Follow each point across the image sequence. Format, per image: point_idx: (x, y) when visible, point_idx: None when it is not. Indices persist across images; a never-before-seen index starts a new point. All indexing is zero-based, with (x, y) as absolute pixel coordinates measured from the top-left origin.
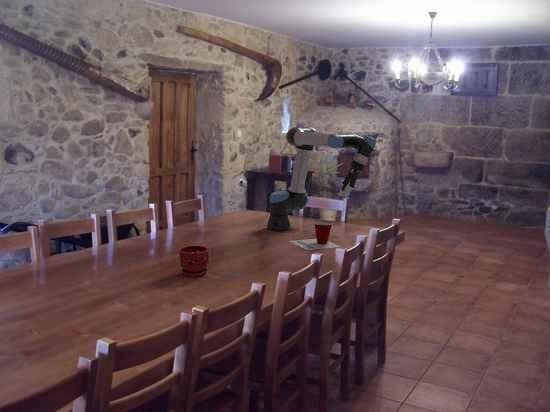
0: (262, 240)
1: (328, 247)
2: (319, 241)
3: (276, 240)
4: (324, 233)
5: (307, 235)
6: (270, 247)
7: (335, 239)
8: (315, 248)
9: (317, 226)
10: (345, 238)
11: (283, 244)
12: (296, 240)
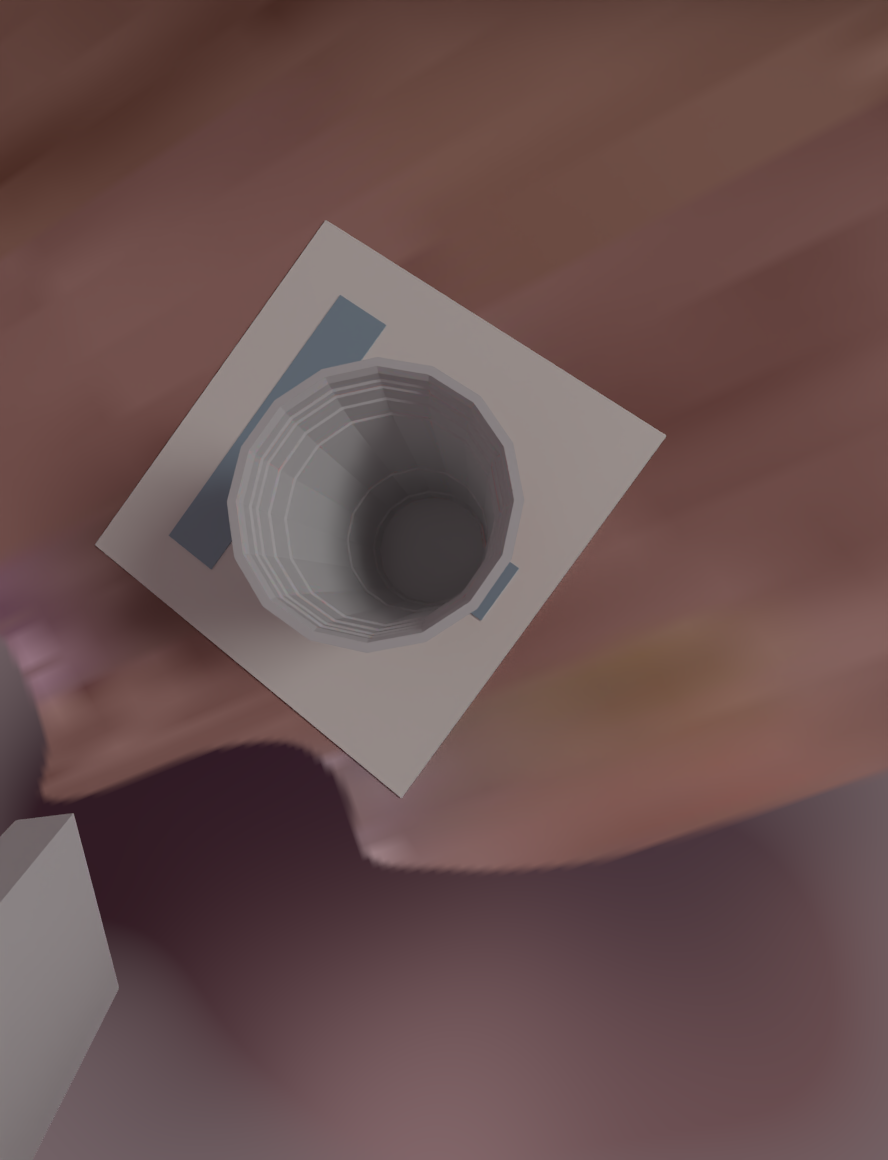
0: (221, 19)
1: (293, 684)
2: (365, 537)
3: (293, 114)
4: (328, 584)
5: (718, 231)
6: (26, 228)
7: (727, 596)
8: (186, 587)
9: (269, 475)
10: (869, 684)
11: (182, 255)
12: (395, 269)
